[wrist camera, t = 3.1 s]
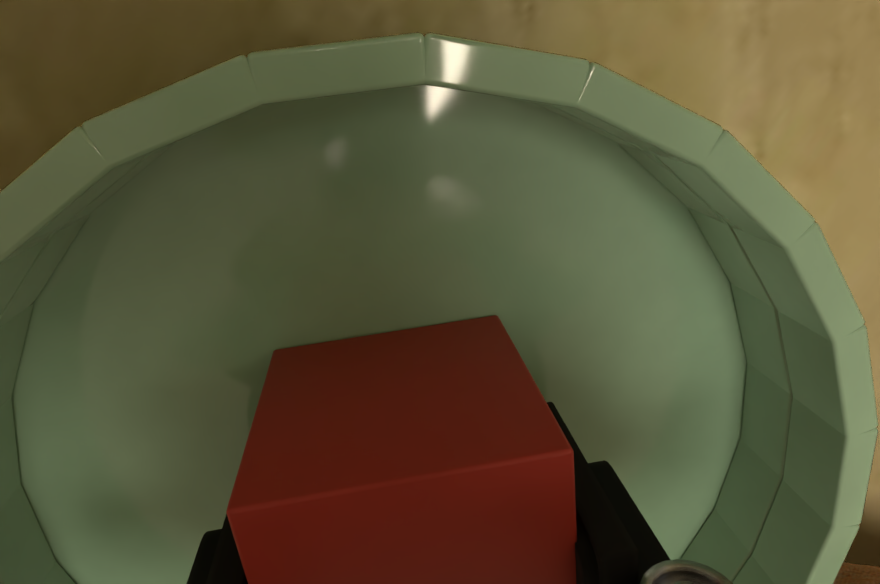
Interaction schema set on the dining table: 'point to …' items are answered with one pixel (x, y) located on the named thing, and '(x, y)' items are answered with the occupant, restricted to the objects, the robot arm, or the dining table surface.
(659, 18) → the dining table surface
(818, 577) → the bowl
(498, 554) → the block
